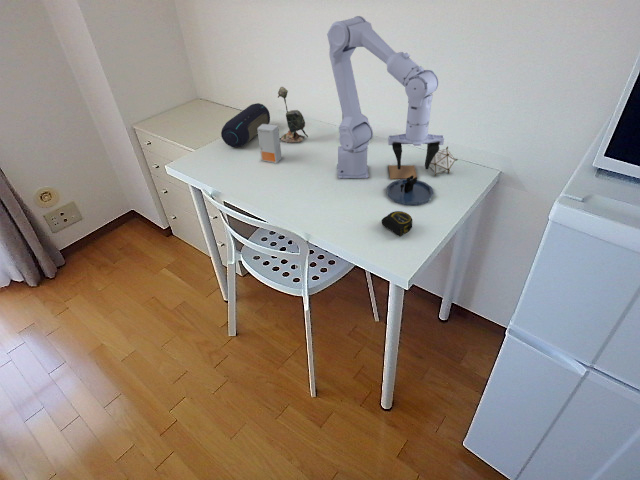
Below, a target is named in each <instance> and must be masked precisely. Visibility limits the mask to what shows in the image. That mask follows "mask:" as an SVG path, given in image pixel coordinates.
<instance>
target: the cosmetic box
mask: <svg viewBox="0 0 640 480" xmlns="http://www.w3.org/2000/svg"><path fill="white" fill-rule="evenodd" d="M257 130H258V134H257V137H258V138H257V139H258V145H259V153H260V159H261V161H262V162H267V163H274V164H278V163H279V161H281V160H282V148H281V140H280V138H281V135H280V127H279V125H276V124H270V123H269V124H262V125H261V126H259V127H258V128H257Z"/></svg>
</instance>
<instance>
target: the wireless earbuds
mask: <svg viewBox="0 0 640 480" xmlns="http://www.w3.org/2000/svg"><path fill="white" fill-rule="evenodd" d="M413 177H414V176H413V175H412V176H410V177H408V178H407V179H406V181H407V183H405V187H404V184H401V185H400V187H401V192H402V190H403V187H404V192H405V193H408V192H410V191H412V190H413V186H414V184H415V183H416V182H417V180H418V176H417V177H415V178H414V179H413ZM410 179H413V180H411V181H410Z"/></svg>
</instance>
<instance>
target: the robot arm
mask: <svg viewBox="0 0 640 480" xmlns="http://www.w3.org/2000/svg"><path fill="white" fill-rule="evenodd" d="M326 35H327V41H328V45H329V52H328V53H329V54H328V55H329V60H330V64H331V69H332V72H333V73H332V74H333V78H334V82H335V85H336V92H337V96H338V100H339V105H340V109H341V115H342V114H343V120H342V119H341V121H340V124H339V127H338V131H339V136H338V141H339V144H340V146H338V147H337V164H336V170H337V178H338V179H368V178H369V166H368V147H369V144H370V141H371V140H372V139H373V137H374V131H373V127H372V126H371V124H370V121H369V117H367V116H366V115H365V114H363V113H362V109H361V105H360V99H359V95H358V90H357V86H356V79H355V75H354V71H353V66H352V61H351V57H352V55H353V54H354V52H355V50H356V49H357V48H365V49H366V50H368V51H369V52H370V53H371V54H372V55H374V56H375V57H376V58H378V59H379V60H380V61H381V62H383V63H384V64H385V65H386V71H387V73H388V74H390V76H392V77H393V78H394V79H395V80H396V81H398V82H399V83H400V84H401V86H403V87H404V91H405V94H406V96H407V104H408V106H407V113H406V114H407V115H406V125H405V133H401V134H395V135H388V137H387V138H388V139H387V144H388V146H392V147H391V148H392V151H393V153H394V156H395V159H396V165H397V167H398V169H400V168H401V165H402V154H403V145H413V146H416V147H417V146H418V147H419V146H422V145H426V156H425V160H424V169H425V170H429V167H430V166H429V165H430V163H431V161H432V159H433V157H434V156H435V155H436V153H437V152H438V151H439V150H440V146H444V142H445V137H444V135H442V134H441V135H440V134H432V133H429V124H430V118H431V110H432V102H433V96H434V95H433V94H434V93H435V92H436V91H437V89H438V86H439V78H438V76H437V75H436V73H435V72H434V71H433V70H432V69H425V68H424V67H422V65H418V64H417V63H416V62H415V61H414V60H412V59H411V58H410V56H411V55H410V54H409V53H408V52H403V51H398V52H396V51H395V50H394V49H393V48H392V47H391V46H390V45H389V44H388V43H387V42H386V41H385V40H384V39H383V38H382V37H381V36H380V35H379V33H377V32H376V31H375V30H374V28H373V26H372V23H371V22H369V21H368V20H366V18H364V17H363V16H361V15H356V16H354V17H350V18H348V19H345V20H344V19H343V20H337V21H335V22H333V23H331V26H330V27H329V29H328V31H327V33H326Z"/></svg>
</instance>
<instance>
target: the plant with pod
mask: <svg viewBox="0 0 640 480" xmlns="http://www.w3.org/2000/svg"><path fill="white" fill-rule="evenodd" d="M288 93H289V90H287V89H286V88H285V86H280V87H279V89H278V91H277V94H278V96H277V98H280V97H281V98H282V99H283V101H284V104H285V110H286V113H285V119H286V122H287V123H286V124H287V128H288V129H289V130H288V131H287V133H284V134H283V135H281V136H280V141H282V142H286V143H301V142H303V141H304V140H305V138H309V135H308V134H306V131H305V130H304V128H305V127H306V121H305V119H304V117H305V116H303V114H302V112H301V111H300V110H299V109H293V110H289V111H288V105H287V99H286V98H287V96H288ZM298 131H301V132H302V133H303V134H304V135H302V134H299V133H298Z"/></svg>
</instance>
